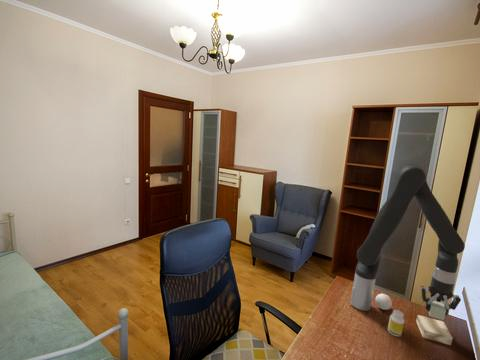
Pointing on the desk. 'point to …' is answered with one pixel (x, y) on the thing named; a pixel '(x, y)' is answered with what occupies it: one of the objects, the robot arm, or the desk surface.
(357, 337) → the desk surface
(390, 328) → the supplement bottle
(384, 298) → the white rounded oval
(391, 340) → the desk surface
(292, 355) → the desk surface
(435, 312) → the sage cube
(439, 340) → the birch block
